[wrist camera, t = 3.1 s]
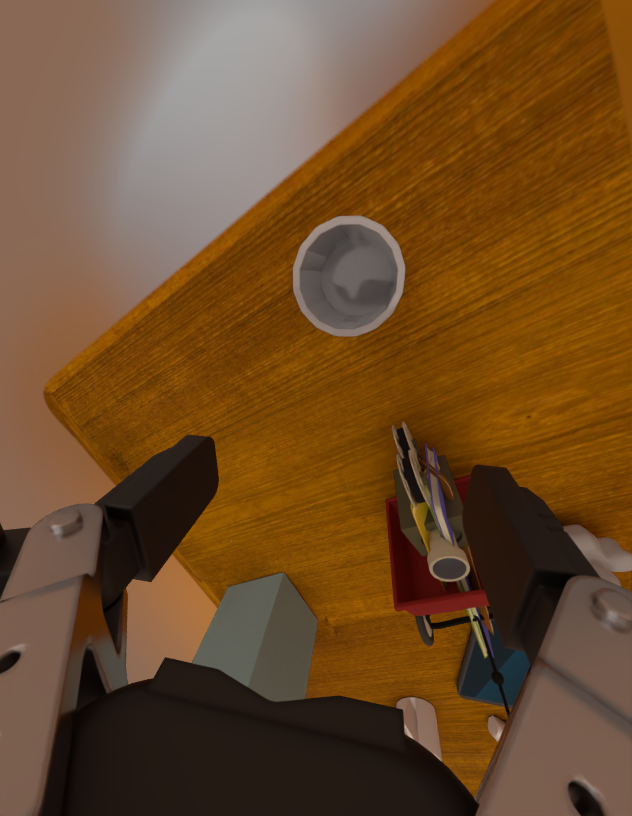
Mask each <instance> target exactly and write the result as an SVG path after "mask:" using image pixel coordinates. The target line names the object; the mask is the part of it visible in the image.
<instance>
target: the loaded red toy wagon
mask: <svg viewBox="0 0 632 816" xmlns="http://www.w3.org/2000/svg"><path fill="white" fill-rule="evenodd" d="M402 425H403V428H400V429H396V427H395V426H394V425H393V426H392V431H393V435H394V439H395V440H394V443H395V447H396V450H397V453H398V454H397V455H396V458H397V464H398V468H399V469H397V470H394V479H395V487H396V495H397V497H393V498H390V499H387V500H386V513H387V526H388V538H389V550H390V563H391V575H392V587H393V599H394V608H395V610H396V611H401V610H406V611H408V612H409V613H411V614H413V615H415V618H416V623H417V626H418V630H419V633H420V635H421V638H422V640H423V642H424V643H425V644H426V645H427V646H431V645H433V642H434V635H433V629H441V628H446V627H450V626H455V625H459V624H464V623H469V622H470V623H471V625H472V628H473V630H474V633H475V635H476V638H477V640H478V643H479V645H480V648H481V650H482V653H483V655H484V658H486V657H487V656H489V659H490V662H491V665H492V668H493V672H492V674H491V678H492V680H493V682H494V683H495V684H496V685H498V686H499V690H500V693H501V696H502V699H503V702H504V705H505V708H506V712H507V715H508V717H509V714H510V711H509V708H508V704H507V701H506V698H505V694H504V691H503V688H502V685H503V683H504V677H503V675H502V674H501V673H500V672H498V671H497V668H496V665H495V662H494V659H493V658H494V657H493V652H492V647H491V642H490V638H489V633H488V630H489V631H490V632H491V633H492V634H493V635H494V631H493V626H492V622H491V619H494V617H493V614H492V613H489V612H488V609H487V606H488V605H489V602H488V600H487V597H486V594H485V591H484V588H483V585H482V582H481V579H480V576H479V573H478V570H477V568H476V565H475V562H474V559H473V556H472V553H471V550H470V547H469V544H468V541H467V538H466V535H465V533H464V529H463V523H462V512H463V506H464V502H465V498H466V494H467V489H468V485H469V481H470V477H471V475H470V476H467V477H463V478H460V479H456V480H453V478H452V475H451V472H450V470H449V467H448V464H447V462H446V459H445V456H444V455H442V456H439V457H437V455H436V452H435V450H434V448H433V451H431V450H429V449H428V447H427V444H426V443H425V451H426V460H424V458H423V456H422V453H421V451H420V449H419V447H418V445H417V442H416V440H415V438H414V439H413V438H412V436H411V434H410V431H409V429H408V427H407V425H406V424H405V422H402ZM405 429H406V430H405ZM394 431H395V433H396V435H395V433H394ZM396 436H397V437H396ZM399 461H400V464H401V466H402V468H401V467H400V464H399ZM462 609H465V610H466V613H467V615H468V616H466V617H461V618H456V619H452V620H449V621H444V622H439V623H431V621H430V614H437V613H443V612H450V611H456V610H462ZM487 653H488V654H487Z"/></svg>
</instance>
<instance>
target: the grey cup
mask: <svg viewBox="0 0 632 816" xmlns="http://www.w3.org/2000/svg"><path fill="white" fill-rule="evenodd" d="M405 270H406V269H405V264H404V260H403V257H402V253H401V250H400V246H399V245H398V243H397V241H396V240H395V239H394V238H393V237H392V235H391V234H390V233H389V232H388V231H387V229H386V228H385V227H384V226H383V225H381V224H379V223H377V222H374V221H372V220H370V219H368V218H366V217H364V216H338V217H335V218H333V219H331V220H329V221H327V222H325V223H323V224H321V225H319V226H317V227H316V228H315V229H314V230H313V231H312V233H311V234H310V235H309V236H308V237H307V238H306V240H305V241H304V242H303V243H302V244H301V246H300V249H299V252H298V254H297V257H296V260H295V263H294V266H293V291H294V294H295V297H296V299H297V302H298V304H299V307H300V309H301V311H302V313H303V314H304V315H305V316H306V317H307V318H308V319H309V320H310V322H311V323H312V324H313V325H314V326H315V327H317V328H318V329H321V330H323V331H325V332H327V333H329V334H331V335H334V336H349V337H355V336H359V335H361V334H364V333H367V332H369V331H372V330H375V329H376V328H377V327H379V326H380V325H381V324H382V323H383V322H384V321H385V320H386V319H387V318H389V317H390V316H391V315H392V313H393V312H394V310H395V308H396V306H397V304H398V302H399V300H400V298H401V296H402V294H403V290H404V280H405Z"/></svg>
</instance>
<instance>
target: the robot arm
mask: <svg viewBox="0 0 632 816" xmlns="http://www.w3.org/2000/svg"><path fill="white" fill-rule="evenodd" d="M218 482H219V476H218V468H217V460H216V451H215V444H214V440H213V439H212V438H211V437H205V436H195V435H187V436H185V437H184V438H183V439H181V440H180V441H179V442H178V443H177V444H175V445H174V446H173V447H172V448H169V449H167V450H165V451H163V452H161V453H158V454H156V455H154V456H153V457H152V458H150V459H149V460H148V461H147V462H145V463H144V464H143V465H142V467H139V468H138V469H137V470H136V471H134V472H133V473H132V476H131V475H129V476H128V477H127V478H126V479H124V480H123V481H122V482H121V483H119V484H118V485H117V486H116V487H115V488H113V489H112V490H111V491H110V492H108V493H107V494H106V495H105V496H103V497H102V498H101V499H100V500H98V501H97V502H96V503H95V504H76V505H72V506H68V507H65V508H62V509H59V510H57V511H55V512H53V513H51V514H49V515H47V516H45V517H44V518H42V519H41V520H39V521H38V522H37V523H36V524H35V525H34V526H33V527H32V528H21V529H12V530H3V528H2V526H1V524H0V816H632V593H631V592H630V591H628V590H626V589H624V588H623V587H621V586H619V585H617V584H614V583H612V582H610V581H607V580H604V579H601V577H600V576H599V575H598V573H597V572H596V571H595V569H594V568H593V567H592V565H591V564H590V563H589V561H588V560H587V559H586V557H585V556H584V555H583V553H582V552H581V550H580V549H579V548H578V546H577V545H576V544H575V542H574V541H573V540H572V538H571V537H570V536H569V534H568V533H567V532H566V531H564V528H563V526H562V525H561V524H560V522H559V521H558V520H557V519H556V518H554V514H553V513H552V511H551V510H550V509H549V507H548V506H547V505H546V503H545V502H544V501H543V500H542V499H540V498H539V497H538V496H536V495H535V494H534V493H533V492H531V491H530V490H529V489H527V488H524V487H519V486H518V485H517V483H516V482H515V480H514V479H513V477H512V476H511V474H510V473H509V471H508V470H507V469H506V468H504V467H494V466H484V465H475V466H474V468H473V470H472V473H471V477H470V481H469V485H468V489H467V494H466V498H465V502H464V506H463V512H462V523H463V529H464V533H465V535H466V538H467V541H468V544H469V547H470V550H471V553H472V556H473V559H474V562H475V565H476V568H477V570H478V573H479V576H480V579H481V582H482V585H483V588H484V591H485V594H486V597H487V600H488V602H489V605H490V608H491V611H492V614H493V617H494V620H495V623H496V626H497V629H498V632H499V635H500V637H501V640H502V643H503V646H504V648H507V649H512V650H518V651H523V652H525V653H526V656H527V658H528V661H529V663H530V666H529V668H528V670H527V673H526V675H525V678H524V680H523V682H522V685H521V687H520V690H519V692H518V695H517V697H516V700H515V702H514V704H513V707H512V709H511V712H510V714H509V717H508V719H507V722H506V724H505V726H504V729H503V731H502V734H501V736H500V739H499V741H498V744H497V746H496V748H495V751H494V753H493V756H492V758H491V760H490V763H489V765H488V767H487V770H486V772H485V774H484V777H483V779H482V781H481V784H480V786H479V789H478V791H477V793H476V796H475V798H473V796H472V795H471V794H470V792H469V791H468V790H467V788H466V787H465V786H464V785H463V784H462V782H461V781H460V780H459V779H458V778H457V777H456V776H455V775H454V773H453V772H452V771H451V770H450V769H449V768H448V767H447V766H446V765H445V764H444V763H443V762H442V761H441V760H439V759H438V758H437V757H436V756H435V755H434V754H433V753H432V752H430V751H429V750H428V749H426V748H425V747H424V746H422V745H421V744H420V743H418V742H417V741H416V740H414V739H412V738H411V737H409V736H407V735H405V731H404V714H403V709H398V708H394V707H389V706H384V705H380V704H375V703H371V702H366V701H362V700H357V699H353V698H348V697H343V696H330V697H320V698H310V699H300V700H290V701H280V702H275V701H270V700H268V699H266V698H264V697H263V696H261V695H260V694H258V693H256V692H255V691H253V690H252V689H250V688H248V687H247V686H245V685H243V684H242V683H240V682H239V681H237V680H235V679H234V678H232V677H231V676H229V675H227V674H226V673H224V672H222V671H221V670H219V669H216V668H211V667H207V666H202V665H198V664H193V663H188V662H184V661H179V660H175V659H170V658H166V657H165V659H164V660H163V662H162V664H161V666H160V667H159V669H158V671H157V673H156V675H155V676H154V678H153V679H147V680H143V681H139V682H135V683H131V684H129V685H128V681H127V673H126V644H127V643H126V642H127V606H128V605H127V604H128V594H127V590H126V587H127V586H128V584H129V583H130V582H131V581H132V579H136V580H142V581H148V582H151V581H152V580H153V579H154V577H155V576H156V575H157V573H158V572H159V571H160V569H161V568H162V567H163V565H164V564H165V563H166V561H167V560H168V558H169V557H170V556H171V554H172V553H173V552H174V550H175V549H176V548H177V546H178V545H179V544H180V542H181V541H182V539H183V538H184V537H185V535H186V534H187V533H188V531H189V530H190V529H191V527H192V526H193V525H194V523H195V522H196V520H197V519H198V518H199V516H200V515H201V514H202V512H203V511H204V510H205V508H206V507H207V506H208V504H209V503H210V501H211V500H212V499H213V497H214V496H215V494H216V491H217V488H218Z"/></svg>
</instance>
